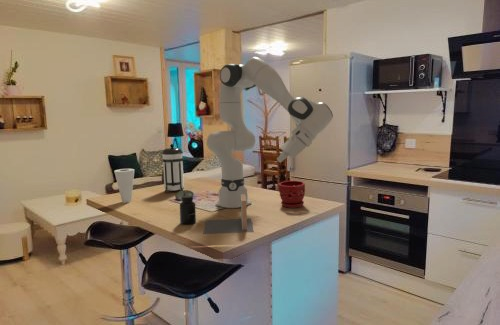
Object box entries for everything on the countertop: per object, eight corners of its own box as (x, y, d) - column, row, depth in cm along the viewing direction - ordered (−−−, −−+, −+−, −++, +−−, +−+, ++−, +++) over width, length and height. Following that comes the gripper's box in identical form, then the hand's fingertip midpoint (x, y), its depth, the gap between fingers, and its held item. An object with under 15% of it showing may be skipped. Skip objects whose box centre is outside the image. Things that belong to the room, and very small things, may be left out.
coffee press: (156, 192, 215) (153, 144, 211) (176, 187, 227) (174, 142, 223) (173, 195, 204) (170, 145, 200) (193, 190, 216) (191, 143, 212)
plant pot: (281, 202, 183) (281, 180, 181) (306, 203, 179) (306, 180, 178) (276, 208, 170) (276, 185, 169) (303, 209, 167) (303, 185, 165)
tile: (241, 220, 150) (240, 194, 148) (245, 220, 150) (245, 193, 148) (242, 229, 138) (241, 200, 136) (247, 229, 138) (246, 200, 136)
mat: (206, 221, 152) (206, 220, 152) (251, 219, 153) (251, 218, 153) (203, 235, 134) (203, 233, 134) (253, 233, 135) (253, 231, 135)
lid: (194, 196, 201) (194, 188, 200) (192, 200, 191) (192, 191, 190) (176, 197, 200) (176, 188, 199) (173, 201, 190) (173, 192, 190)
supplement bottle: (193, 225, 147) (191, 198, 145) (178, 224, 148) (176, 198, 146) (198, 220, 154) (197, 194, 152) (183, 220, 155) (182, 194, 153)
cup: (113, 204, 187) (110, 171, 184) (122, 199, 197) (120, 168, 195) (131, 204, 186) (129, 171, 183) (139, 199, 196) (137, 168, 194)
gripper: (291, 130, 150) (270, 153, 151) (300, 132, 130) (275, 159, 131) (302, 140, 151) (280, 162, 152) (312, 144, 130) (287, 170, 131)
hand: (278, 161), depth 141 cm, fingers closed
